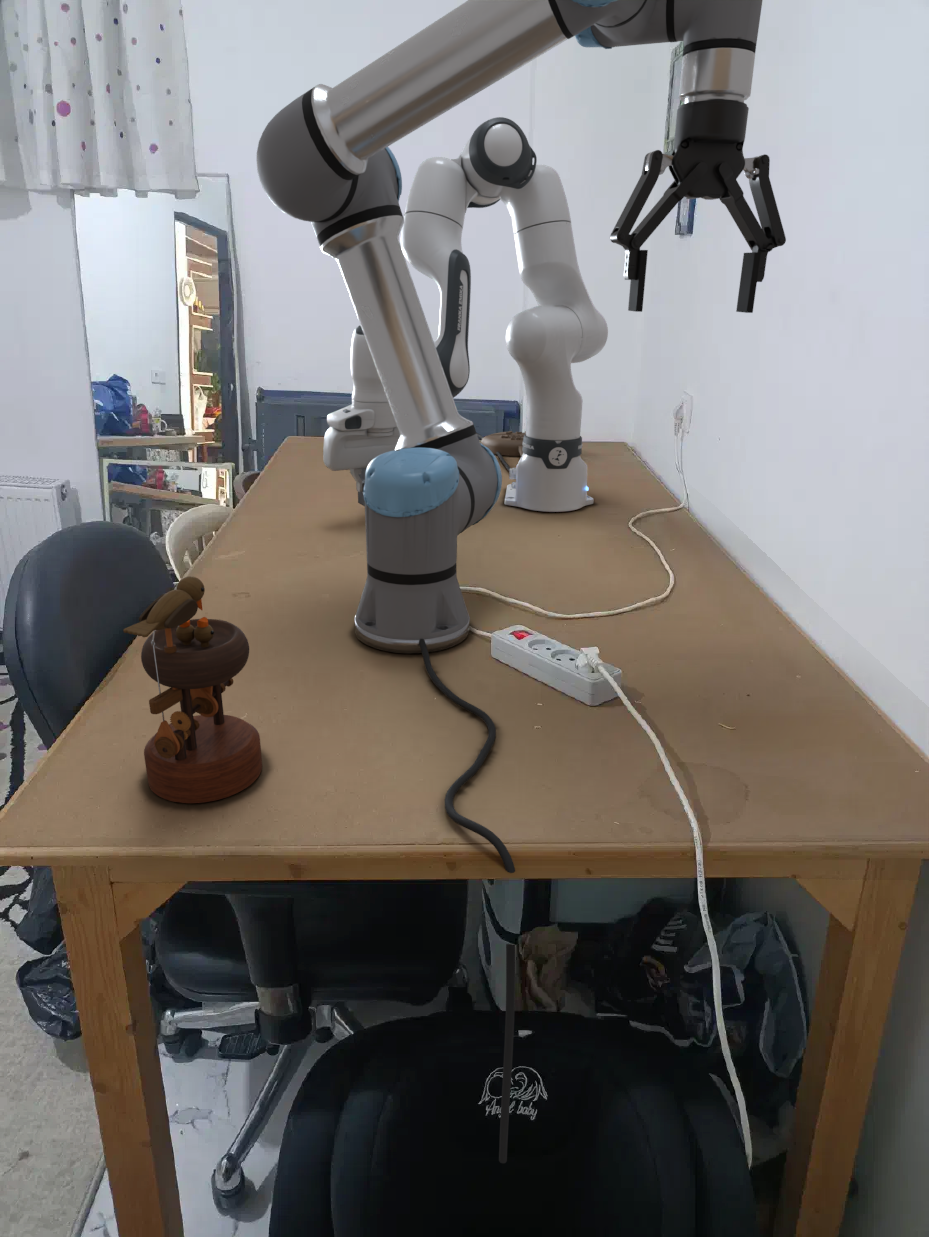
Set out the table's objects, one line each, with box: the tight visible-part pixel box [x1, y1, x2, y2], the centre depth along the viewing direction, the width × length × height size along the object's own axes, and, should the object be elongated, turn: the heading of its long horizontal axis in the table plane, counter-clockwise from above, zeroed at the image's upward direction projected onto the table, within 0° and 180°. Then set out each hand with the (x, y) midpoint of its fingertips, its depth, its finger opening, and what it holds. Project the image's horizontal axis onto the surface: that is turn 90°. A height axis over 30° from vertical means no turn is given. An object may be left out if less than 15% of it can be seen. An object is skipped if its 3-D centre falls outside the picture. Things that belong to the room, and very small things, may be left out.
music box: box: [122, 575, 263, 804], centre depth 78 cm, size 15×11×20 cm
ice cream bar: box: [480, 430, 526, 458], centre depth 223 cm, size 21×28×4 cm
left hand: (690, 312), depth 99 cm, fingers open, 13 cm apart
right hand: (377, 489), depth 161 cm, fingers closed on bar, 5 cm apart
